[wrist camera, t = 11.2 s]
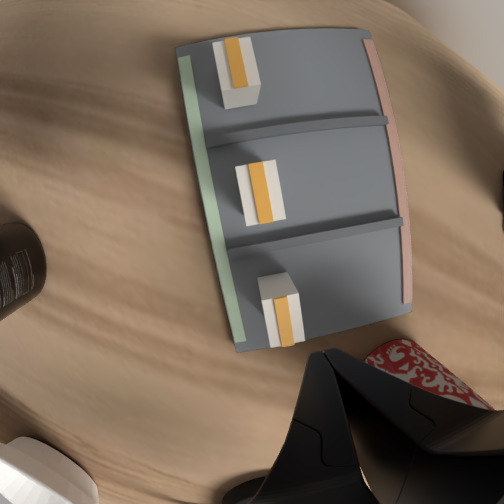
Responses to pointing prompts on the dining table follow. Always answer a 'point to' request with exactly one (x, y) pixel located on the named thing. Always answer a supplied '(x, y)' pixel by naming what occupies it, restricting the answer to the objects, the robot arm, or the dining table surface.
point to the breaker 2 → (281, 310)
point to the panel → (304, 180)
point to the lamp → (243, 492)
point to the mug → (422, 371)
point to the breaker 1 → (237, 72)
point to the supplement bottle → (19, 267)
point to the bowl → (42, 475)
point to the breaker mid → (260, 192)
